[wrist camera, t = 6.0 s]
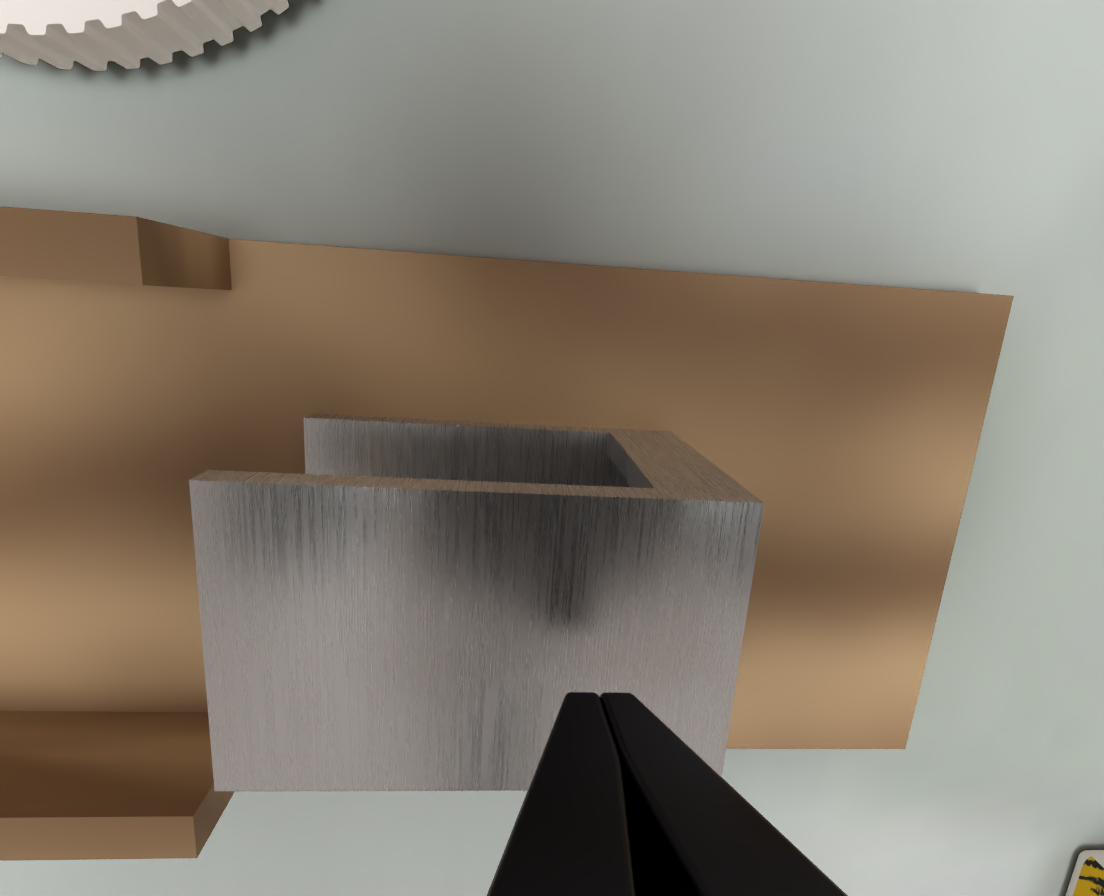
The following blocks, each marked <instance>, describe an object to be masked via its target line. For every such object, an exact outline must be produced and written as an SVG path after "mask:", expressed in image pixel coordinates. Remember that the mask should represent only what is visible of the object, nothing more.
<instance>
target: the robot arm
mask: <svg viewBox="0 0 1104 896" xmlns="http://www.w3.org/2000/svg"><path fill="white" fill-rule="evenodd" d="M487 896H847V895H846V894H845V893H844V892H843V891H842V890H841V889H840V888H839V887H838V886H837V885H836V884H835V883H834V882H833V881H831V880H830V879H829V878H828V877H827V876H826V875H825V874H824V873H823V872H822V871H821V870H820V869H819V868H818V867H817V866H815V865H814V864H813V863H812V862H811V861H810V860H809V859H808V858H807V857H806V856H805V855H804V854H803V853H802V852H801V851H799V850H798V849H797V848H796V847H795V846H794V845H793V844H792V843H791V842H790V841H789V840H788V839H787V838H786V837H785V836H784V835H782V834H781V833H780V832H779V831H778V830H777V829H776V828H775V827H774V826H773V825H772V824H771V823H770V822H769V821H768V820H766V819H765V818H764V817H763V816H762V815H761V814H760V813H759V812H758V811H757V810H756V809H755V808H754V807H753V806H752V805H750V804H749V803H748V802H747V801H746V800H745V799H744V798H743V797H742V796H741V795H740V794H739V793H738V792H737V791H736V790H735V789H733V788H732V787H731V786H730V785H729V784H728V783H727V782H726V781H725V780H724V779H723V778H722V777H721V776H720V775H719V774H717V773H716V772H715V771H714V770H713V769H712V768H711V767H710V766H709V765H708V764H707V763H706V762H705V761H704V760H703V759H702V758H700V757H699V756H698V755H697V754H696V753H695V752H694V751H693V750H692V749H691V748H690V747H689V746H688V745H687V744H686V743H684V742H683V741H682V740H681V739H680V738H679V737H678V736H677V735H676V734H675V733H674V732H673V731H672V730H671V729H670V728H668V727H667V726H666V725H665V724H664V723H663V722H662V721H661V720H660V719H659V718H658V717H657V716H656V715H655V714H654V713H653V712H651V711H650V710H649V709H648V708H647V707H646V706H645V705H644V704H643V703H642V702H641V701H640V700H639V699H638V698H637V697H635V696H634V695H633V694H631V693H621V692H604V693H602V694H601V695H600V696H598V694H596V693H594V692H569V693H567V694H566V695H565V697H564V699H563V702H562V705H561V707H560V710H559V712H558V715H557V717H556V720H555V722H554V725H553V728H552V730H551V733H550V735H549V738H548V740H547V743H546V746H545V748H544V751H543V753H542V756H541V758H540V761H539V763H538V766H537V769H536V771H535V774H534V776H533V779H532V781H531V784H530V786H529V789H528V792H527V794H526V797H525V799H524V802H523V804H522V807H521V810H520V812H519V815H518V817H517V820H516V822H515V825H514V827H513V830H512V833H511V835H510V838H509V840H508V843H507V845H506V848H505V850H504V853H503V856H502V858H501V861H500V863H499V866H498V868H497V871H496V874H495V876H494V879H493V881H492V884H491V886H490V889H489V891H488V894H487Z"/></svg>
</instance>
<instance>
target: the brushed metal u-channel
mask: <svg viewBox="0 0 1104 896" xmlns="http://www.w3.org/2000/svg"><path fill="white" fill-rule="evenodd" d="M304 447H305V474H294V473H270V472H245V471H221V470H207V471H205V472H203V473H201V474H199V475H197V476H196V477H194V478H192V479H190V480H189V486H190V499H191V511H192V523H193V535H194V547H195V559H196V572H197V584H198V596H199V608H200V620H201V632H202V644H203V657H204V669H205V681H206V693H207V705H208V717H209V730H210V742H211V754H212V766H213V778H214V790H215V791H478V790H528V789H529V786H530V784H531V781H532V779H533V776H534V774H535V771H536V769H537V766H538V763H539V761H540V758H541V756H542V753H543V751H544V748H545V746H546V743H547V740H548V738H549V735H550V733H551V730H552V728H553V725H554V722H555V720H556V717H557V715H558V712H559V710H560V707H561V705H562V702H563V699H564V697H565V695H566V694H567V693H569V692H594V693H596V694H598V696H600V695H601V694H602V693H604V692H621V693H631V694H633V695H634V696H635V697H637V698H638V699H639V700H640V701H641V702H642V703H643V704H644V705H645V706H646V707H647V708H648V709H649V710H650V711H651V712H653V713H654V714H655V715H656V716H657V717H658V718H659V719H660V720H661V721H662V722H663V723H664V724H665V725H666V726H667V727H668V728H670V729H671V730H672V731H673V732H674V733H675V734H676V735H677V736H678V737H679V738H680V739H681V740H682V741H683V742H684V743H686V744H687V745H688V746H689V747H690V748H691V749H692V750H693V751H694V752H695V753H696V754H697V755H698V756H699V757H700V758H702V759H703V760H704V761H705V762H706V763H707V764H708V765H709V766H710V767H711V768H712V769H713V770H714V771H715V772H716V773H717V774H719V775H720V776H722V770H723V763H724V757H725V750H726V744H727V738H728V731H729V725H730V719H731V712H732V706H733V700H734V693H735V687H736V680H737V674H738V668H739V661H740V655H741V649H742V642H743V636H744V629H745V623H746V617H747V610H748V604H749V598H750V591H751V585H752V578H753V572H754V566H755V559H756V553H757V547H758V540H759V534H760V527H761V521H762V515H763V508H764V502H762V501H761V500H760V499H758V498H757V497H756V496H755V495H753V494H752V493H751V492H749V491H748V490H747V489H745V488H744V487H743V486H742V485H740V484H739V483H738V482H736V481H735V480H734V479H733V478H731V477H730V476H729V475H727V474H726V473H725V472H723V471H722V470H721V469H720V468H718V467H717V466H716V465H714V464H713V463H712V462H710V461H709V460H708V459H707V458H705V457H704V456H703V455H701V454H700V453H699V452H698V451H696V450H695V449H694V448H692V447H691V446H690V445H688V444H687V443H686V442H685V441H683V440H682V439H681V438H679V437H678V436H677V435H675V434H674V433H673V432H670V431H650V430H630V429H610V428H590V427H570V426H550V425H530V424H510V423H490V422H470V421H450V420H429V419H409V418H389V417H369V416H349V415H329V414H310V415H308V416H306V417H304Z"/></svg>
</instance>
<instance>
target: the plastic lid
mask: <svg viewBox="0 0 1104 896" xmlns="http://www.w3.org/2000/svg"><path fill="white" fill-rule="evenodd" d="M288 7H289V4H288V1H287V0H0V57H1V56H2V54H3V53H4V54H6V55H8V56H10V57H12V58H14V59H16V60H18V61H20V62H22V63H25V64H30V65H37V63H38V59H39V58H40V59H42V60H43V61H45V62H47V63H49V64H51V65H53V66H55V67H57V68H59V69H72V67H73V62H74V61H77V62H79V63H81V64H83V65H84V66H86V67H88V68H90V69H91V70H96V71H100V70H106V69H107V63H108V62H109V61H114V62H116V63H118V64H119V65H121V66H123V67H124V68H126V69H134V68H139V67H140V60H141V59H142V58H147V57H149V58H151V59H152V60H153V61H155V62H156V63H158V64H160V65H161V64H166V63H170V62H172V53H173V52H176V51H180V50H183V51H184V52H185V53H187V54H188V55H189V56H191V57H193V56H196V55H199V54H202V53H203V52H204V50H203V44H204V43H205V42H208V41H211V40H213V39H214V40H215V41H216V42H217V43H218V44H220V45H221V46H223V45H226V44H228V43H230V42H232V41H233V31H234V30H235V29H237V28H239V27H241V26H244V27H246V28H247V29H248V30H249V31H250V32H252V31H254V30H256V29H257V28H259V27H261V26H262V22H261V15H262V14H264V13H265V12H267V11H268V10H273V11H274V12H275V13H276V14H281V13H282V12H283V11H285V10H286V9H287V8H288Z"/></svg>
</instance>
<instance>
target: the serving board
mask: <svg viewBox="0 0 1104 896" xmlns="http://www.w3.org/2000/svg"><path fill="white" fill-rule="evenodd" d="M1012 301H1013V296H1008V295H994V294H980V293H966V292H953V291H939V290H925V289H911V288H897V287H884V286H870V285H856V284H842V283H829V282H815V281H801V280H787V279H774V278H760V277H746V276H732V275H718V274H705V273H691V272H677V271H663V270H650V269H636V268H622V267H608V266H594V265H581V264H567V263H553V262H539V261H526V260H512V259H498V258H484V257H471V256H457V255H443V254H429V253H415V252H402V251H388V250H374V249H360V248H347V247H333V246H319V245H305V244H292V243H278V242H264V241H250V240H236V239H227V238H223V237H218V236H214V235H210V234H206V233H202V232H198V231H193V230H189V229H185V228H181V227H177V226H173V225H168V224H164V223H160V222H156V221H152V220H148V219H143V218H139V217H132V216H119V215H106V214H92V213H79V212H65V211H52V210H39V209H25V208H12V207H0V860H76V859H153V858H197V857H198V855H199V854H200V852H201V850H202V848H203V846H204V845H205V843H206V841H207V839H208V838H209V836H210V834H211V832H212V831H213V829H214V827H215V825H216V823H217V822H218V820H219V818H220V816H221V815H222V813H223V811H224V809H225V808H226V806H227V804H228V802H229V800H230V799H231V797H232V795H233V793H234V792H235V791H215V790H214V778H213V766H212V754H211V742H210V730H209V717H208V705H207V693H206V681H205V669H204V657H203V644H202V632H201V620H200V608H199V596H198V584H197V572H196V559H195V547H194V535H193V523H192V511H191V499H190V486H189V480H190V479H192V478H194V477H196V476H197V475H199V474H201V473H203V472H205V471H207V470H221V471H245V472H270V473H294V474H305V447H304V417H306V416H308V415H310V414H329V415H349V416H369V417H389V418H409V419H429V420H450V421H470V422H490V423H510V424H530V425H550V426H570V427H590V428H610V429H630V430H650V431H670V432H673V433H674V434H675V435H677V436H678V437H679V438H681V439H682V440H683V441H685V442H686V443H687V444H688V445H690V446H691V447H692V448H694V449H695V450H696V451H698V452H699V453H700V454H701V455H703V456H704V457H705V458H707V459H708V460H709V461H710V462H712V463H713V464H714V465H716V466H717V467H718V468H720V469H721V470H722V471H723V472H725V473H726V474H727V475H729V476H730V477H731V478H733V479H734V480H735V481H736V482H738V483H739V484H740V485H742V486H743V487H744V488H745V489H747V490H748V491H749V492H751V493H752V494H753V495H755V496H756V497H757V498H758V499H760V500H761V501H762V502H764V508H763V515H762V521H761V527H760V534H759V540H758V547H757V553H756V559H755V566H754V572H753V578H752V585H751V591H750V598H749V604H748V610H747V617H746V623H745V629H744V636H743V642H742V649H741V655H740V661H739V668H738V674H737V680H736V687H735V693H734V700H733V706H732V712H731V719H730V725H729V731H728V738H727V744H726V748H740V749H905V748H906V744H907V740H908V735H909V731H910V727H911V723H912V719H913V714H914V710H915V706H916V702H917V698H918V694H919V689H920V685H921V681H922V677H923V673H924V668H925V664H926V660H927V656H928V652H929V648H930V643H931V639H932V635H933V631H934V627H935V622H936V618H937V614H938V610H939V606H940V602H941V597H942V593H943V589H944V585H945V581H946V577H947V572H948V568H949V564H950V560H951V556H952V551H953V547H954V543H955V539H956V535H957V531H958V526H959V522H960V518H961V514H962V510H963V505H964V501H965V497H966V493H967V489H968V485H969V480H970V476H971V472H972V468H973V464H974V459H975V455H976V451H977V447H978V443H979V439H980V434H981V430H982V426H983V422H984V418H985V413H986V409H987V405H988V401H989V397H990V393H991V388H992V384H993V380H994V376H995V372H996V368H997V363H998V359H999V355H1000V351H1001V347H1002V342H1003V338H1004V334H1005V330H1006V326H1007V322H1008V317H1009V313H1010V309H1011V305H1012Z"/></svg>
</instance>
